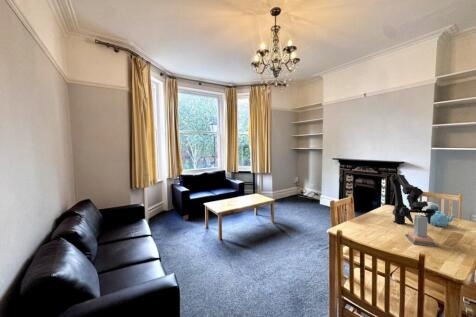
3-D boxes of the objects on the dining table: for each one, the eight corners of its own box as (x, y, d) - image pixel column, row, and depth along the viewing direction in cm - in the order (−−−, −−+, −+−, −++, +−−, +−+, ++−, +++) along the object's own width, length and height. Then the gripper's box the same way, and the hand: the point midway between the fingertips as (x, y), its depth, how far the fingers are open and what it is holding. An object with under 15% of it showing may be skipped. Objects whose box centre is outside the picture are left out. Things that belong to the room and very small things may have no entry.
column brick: (413, 233, 143) (414, 213, 142) (422, 234, 142) (423, 214, 141) (417, 236, 139) (418, 216, 138) (426, 237, 137) (427, 216, 136)
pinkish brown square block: (405, 236, 148) (405, 230, 148) (426, 238, 144) (426, 232, 144) (413, 244, 137) (413, 238, 136) (436, 246, 133) (436, 240, 133)
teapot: (423, 222, 172) (423, 209, 171) (440, 221, 172) (440, 208, 171) (438, 229, 159) (438, 215, 158) (456, 227, 159) (456, 213, 158)
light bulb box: (439, 217, 180) (439, 205, 180) (429, 217, 182) (430, 205, 181) (430, 213, 191) (430, 201, 190) (421, 213, 192) (422, 201, 191)
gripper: (401, 195, 146) (408, 216, 136) (435, 197, 140) (444, 219, 130) (396, 203, 154) (402, 223, 144) (428, 205, 148) (436, 226, 138)
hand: (421, 223), depth 139 cm, fingers open, 9 cm apart
